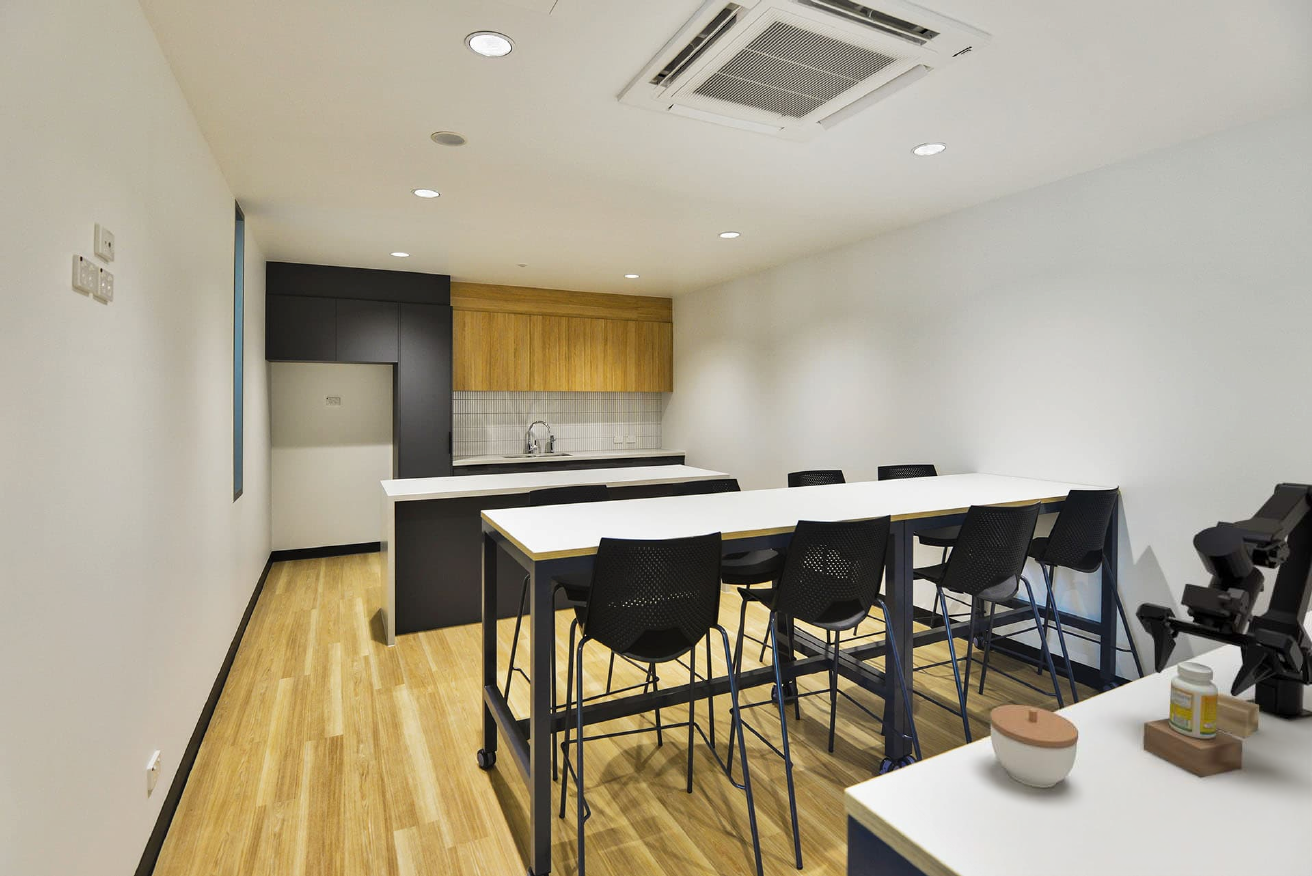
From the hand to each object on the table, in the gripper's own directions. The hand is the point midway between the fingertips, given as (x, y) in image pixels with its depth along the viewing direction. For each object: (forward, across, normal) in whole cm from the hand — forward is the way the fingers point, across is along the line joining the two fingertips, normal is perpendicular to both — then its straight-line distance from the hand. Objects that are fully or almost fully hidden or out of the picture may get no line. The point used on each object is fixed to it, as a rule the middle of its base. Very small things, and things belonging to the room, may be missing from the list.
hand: (1193, 682), depth 96 cm
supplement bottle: (+5, 0, +6) cm, 8 cm away
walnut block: (+8, 0, +8) cm, 11 cm away
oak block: (-4, -1, +20) cm, 20 cm away
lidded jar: (+26, -9, -9) cm, 29 cm away
